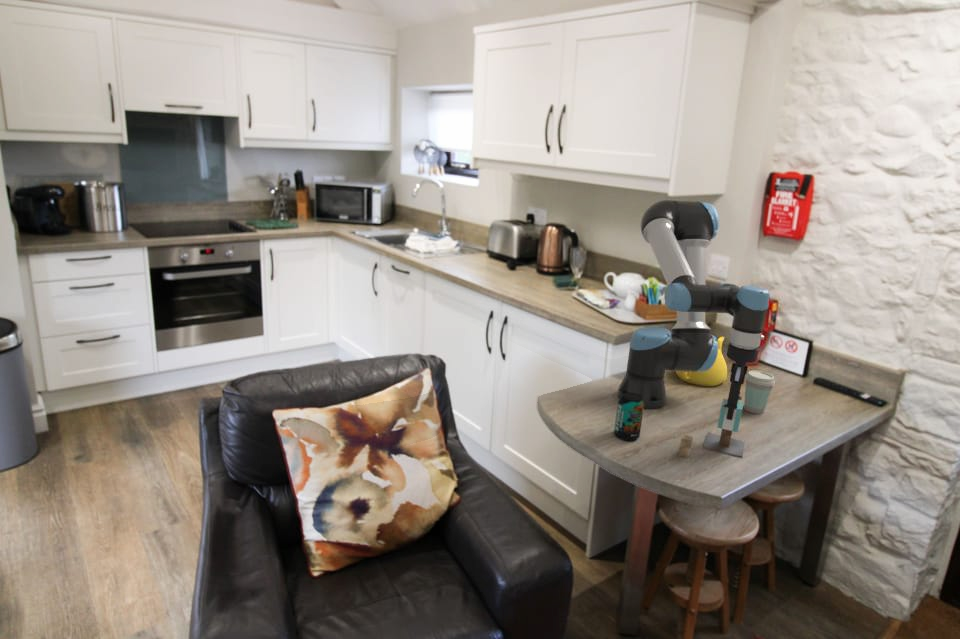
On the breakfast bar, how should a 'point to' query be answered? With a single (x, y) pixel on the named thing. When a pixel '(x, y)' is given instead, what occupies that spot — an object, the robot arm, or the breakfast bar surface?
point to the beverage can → (629, 416)
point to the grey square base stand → (724, 443)
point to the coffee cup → (757, 391)
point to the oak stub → (685, 446)
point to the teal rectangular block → (737, 417)
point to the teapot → (708, 371)
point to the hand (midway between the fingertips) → (728, 425)
